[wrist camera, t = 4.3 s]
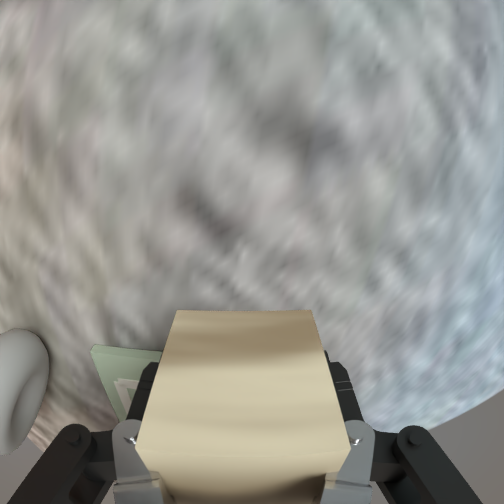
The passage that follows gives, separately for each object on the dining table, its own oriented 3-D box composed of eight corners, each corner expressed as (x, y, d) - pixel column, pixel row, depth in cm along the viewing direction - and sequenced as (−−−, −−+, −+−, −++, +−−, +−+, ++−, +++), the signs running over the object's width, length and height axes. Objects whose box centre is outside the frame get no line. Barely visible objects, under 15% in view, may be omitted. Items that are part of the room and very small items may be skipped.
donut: (55, 395, 20) (10, 481, 11) (24, 375, 20) (-26, 454, 10) (62, 317, 17) (-18, 427, 8) (24, 293, 16) (-63, 385, 7)
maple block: (176, 310, 11) (134, 447, 6) (311, 309, 11) (351, 448, 6) (192, 395, 13) (175, 509, 8) (298, 395, 13) (315, 509, 8)
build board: (94, 344, 18) (89, 352, 17) (279, 355, 18) (280, 365, 17) (141, 453, 23) (139, 460, 22) (268, 462, 23) (268, 470, 22)
